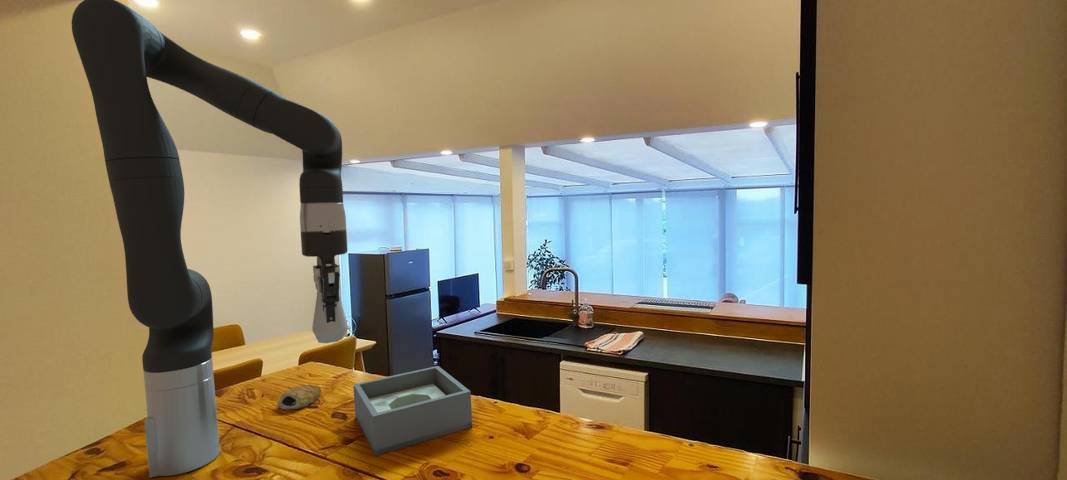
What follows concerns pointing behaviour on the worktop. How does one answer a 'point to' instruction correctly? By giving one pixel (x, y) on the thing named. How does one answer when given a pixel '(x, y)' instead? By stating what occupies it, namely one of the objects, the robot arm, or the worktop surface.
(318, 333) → the salt shaker
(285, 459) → the worktop surface
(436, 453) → the worktop surface
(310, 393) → the ridged seashell
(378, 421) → the bore box
